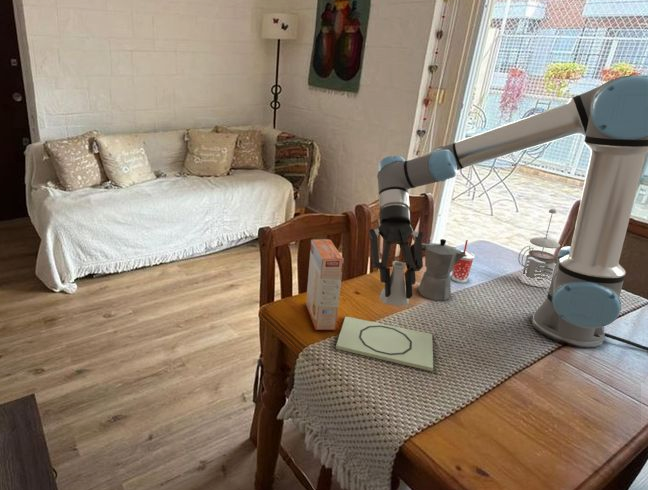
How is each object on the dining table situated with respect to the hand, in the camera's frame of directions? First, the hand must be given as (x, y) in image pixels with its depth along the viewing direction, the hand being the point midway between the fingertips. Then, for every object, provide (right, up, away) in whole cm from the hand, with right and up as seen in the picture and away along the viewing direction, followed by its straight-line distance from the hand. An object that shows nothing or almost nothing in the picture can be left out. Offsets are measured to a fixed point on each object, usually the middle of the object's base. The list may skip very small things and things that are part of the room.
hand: (398, 295), depth 106 cm
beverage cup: (+36, -2, +40) cm, 54 cm away
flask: (+1, -2, +5) cm, 5 cm away
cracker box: (-15, -9, +17) cm, 25 cm away
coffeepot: (+22, -5, +31) cm, 38 cm away
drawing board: (-1, -13, +5) cm, 14 cm away
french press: (+59, -2, +39) cm, 71 cm away
